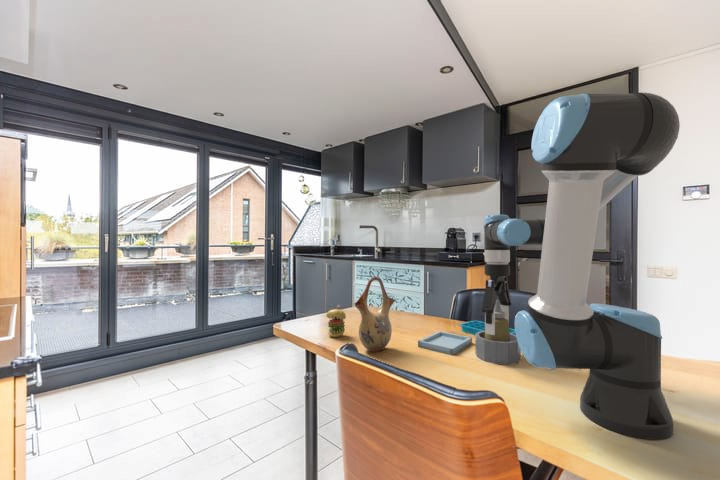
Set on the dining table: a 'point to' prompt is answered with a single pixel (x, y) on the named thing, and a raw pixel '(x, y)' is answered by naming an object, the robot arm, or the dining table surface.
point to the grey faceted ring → (497, 349)
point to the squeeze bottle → (499, 326)
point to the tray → (445, 342)
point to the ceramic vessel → (374, 320)
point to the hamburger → (336, 322)
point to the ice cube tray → (477, 327)
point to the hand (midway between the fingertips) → (497, 329)
